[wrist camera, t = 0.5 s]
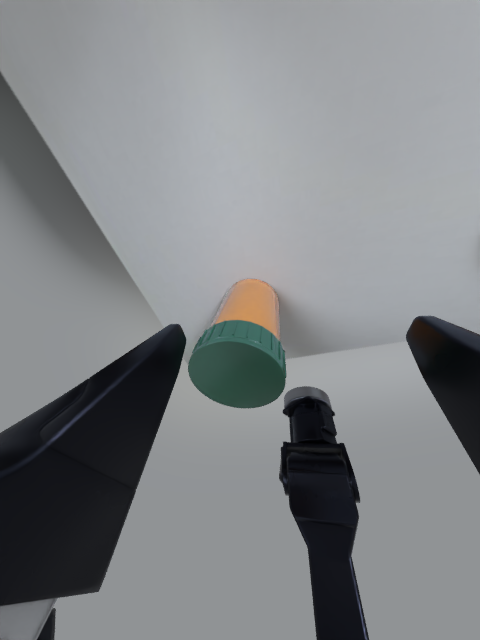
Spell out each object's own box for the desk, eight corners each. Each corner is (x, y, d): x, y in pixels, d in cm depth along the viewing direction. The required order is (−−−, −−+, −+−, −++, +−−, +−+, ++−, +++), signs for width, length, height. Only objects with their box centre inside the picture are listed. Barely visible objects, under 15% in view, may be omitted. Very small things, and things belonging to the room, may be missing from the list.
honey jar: (256, 334, 23) (246, 410, 15) (215, 307, 22) (180, 373, 14) (290, 300, 20) (301, 373, 12) (245, 266, 19) (222, 321, 11)
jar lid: (249, 393, 17) (246, 419, 15) (185, 356, 15) (172, 379, 13) (304, 353, 13) (309, 379, 11) (227, 300, 12) (218, 320, 10)
